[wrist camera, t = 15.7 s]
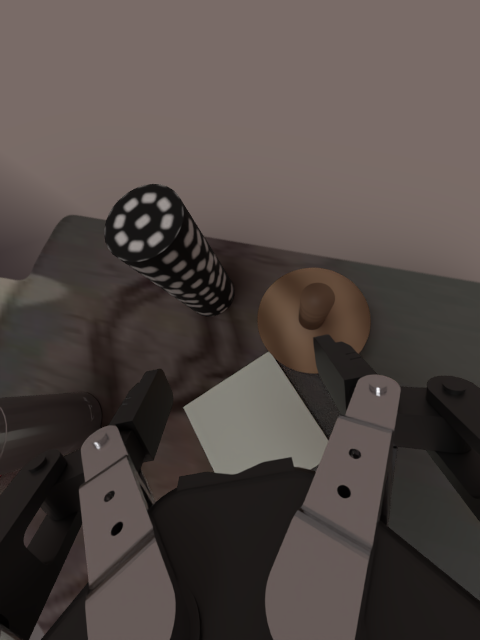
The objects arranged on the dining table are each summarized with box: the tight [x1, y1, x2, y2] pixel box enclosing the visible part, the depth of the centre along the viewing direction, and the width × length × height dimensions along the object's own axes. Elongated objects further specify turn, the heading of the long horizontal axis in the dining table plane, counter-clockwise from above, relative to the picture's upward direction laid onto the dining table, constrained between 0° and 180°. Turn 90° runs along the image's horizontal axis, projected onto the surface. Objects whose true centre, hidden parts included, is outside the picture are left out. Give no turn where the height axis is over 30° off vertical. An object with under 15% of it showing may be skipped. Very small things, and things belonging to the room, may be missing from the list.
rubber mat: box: [183, 352, 328, 474], centre depth 34 cm, size 16×16×1 cm
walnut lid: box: [258, 268, 371, 373], centre depth 27 cm, size 14×14×9 cm
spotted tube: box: [104, 184, 234, 316], centre depth 32 cm, size 8×8×20 cm
